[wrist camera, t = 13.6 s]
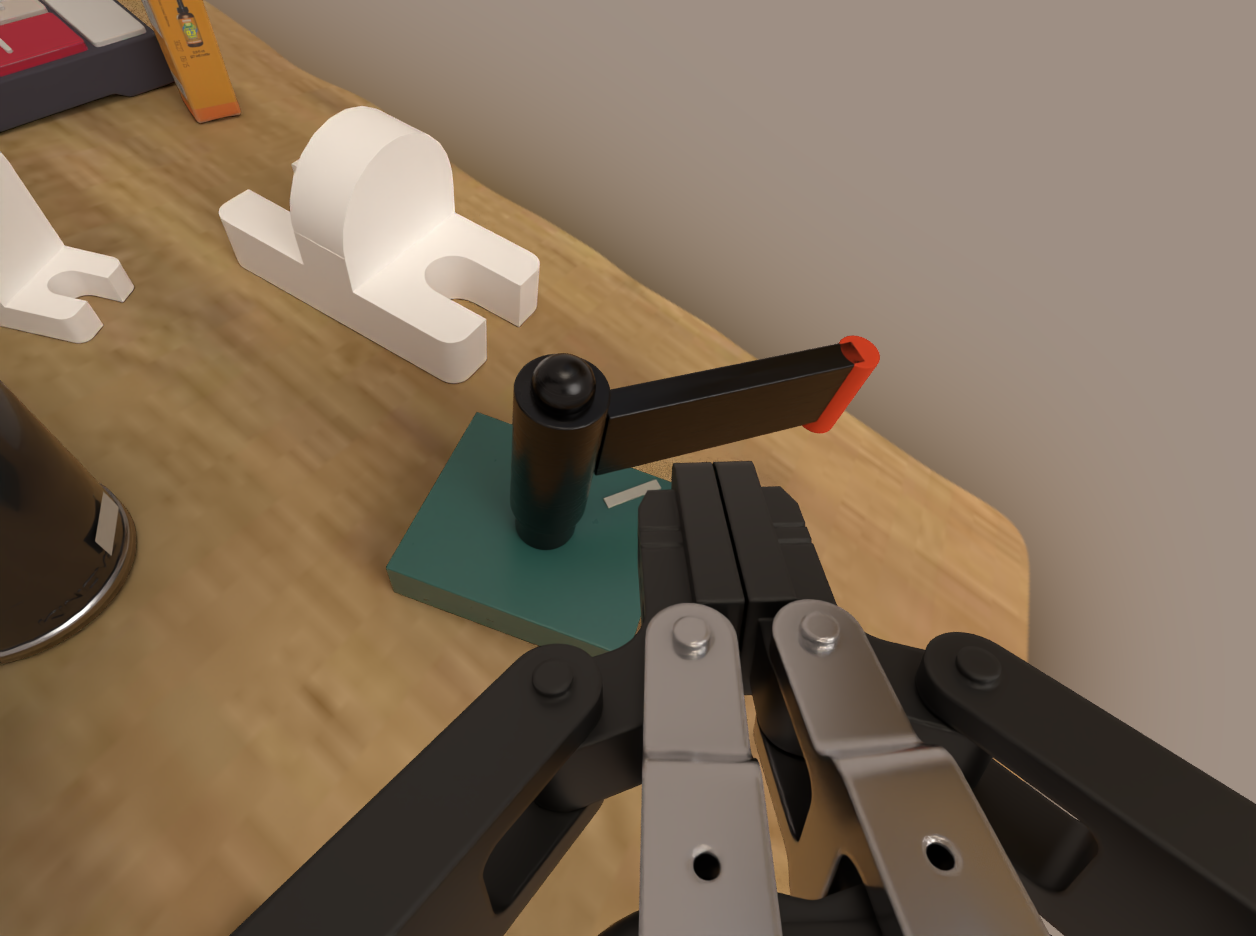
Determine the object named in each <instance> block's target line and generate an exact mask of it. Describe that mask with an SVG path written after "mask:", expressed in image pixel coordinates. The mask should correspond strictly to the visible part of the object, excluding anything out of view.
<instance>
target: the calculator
mask: <svg viewBox="0 0 1256 936" xmlns="http://www.w3.org/2000/svg"><path fill="white" fill-rule="evenodd" d="M173 82H175V80H174V78H173V75H172V73H171V71H170V68H169V66H168V64H167V61H166V59H165V56H164V54H163V52H162V49H161V47H160V44H159V42H158V40H157V37H156V35H155V32H154V31H153V30H152V29H151V28H150V27H148V26H147V25H146V24H145V23H144V22H142V21H141V20H140V19H139V18H137V17H136V16H135V15H134V14H133V13H131V12H130V11H129V10H128V9H127V8H125V7H124V6H123V5H122V4H121V3H119V2H118V1H117V0H0V132H2V131H5V130H8V129H11V128H14V127H17V126H20V125H23V124H26V123H29V122H32V121H35V120H37V119H40V118H43V117H46V116H49V115H52V114H55V113H58V112H61V111H64V110H67V109H70V108H73V107H76V106H79V105H82V104H85V103H88V102H90V101H93V100H96V99H99V98H102V97H105V96H108V95H111V94H119V95H124V96H129V97H132V96H135V95H138V94H141V93H144V92H147V91H150V90H153V89H156V88H159V87H162V86H164V85H167V84H170V83H173Z"/></svg>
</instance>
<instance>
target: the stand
mask: <svg viewBox="0 0 1256 936" xmlns="http://www.w3.org/2000/svg"><path fill="white" fill-rule="evenodd" d="M511 452H512V424H509V423H506V422H503V421H501V420H498V419H495V418H492V417H490V416H487V415H484V414H481V413H479V412H476V414H475V416H474V417H473V419H472V421H471V422H470V424H469V426H468V427H467V429H466V431H465V433H464V434H463V436H462V438H461V439H460V441H459V443H458V445H457V446H456V448H455V450H454V451H453V453H452V455H451V457H450V458H449V460H448V462H447V463H446V465H445V467H444V469H443V470H442V472H441V474H440V475H439V477H438V479H437V481H436V482H435V484H434V486H433V487H432V489H431V491H430V493H429V494H428V496H427V498H426V499H425V501H424V503H423V504H422V506H421V508H420V510H419V511H418V513H417V515H416V516H415V518H414V520H413V522H412V523H411V525H410V527H409V528H408V530H407V532H406V534H405V535H404V537H403V539H402V540H401V542H400V544H399V546H398V547H397V549H396V551H395V552H394V554H393V556H392V558H391V559H390V561H389V563H388V564H387V566H386V570H387V573H388V576H389V579H390V582H391V585H392V588H393V591H394V592H396V593H399V594H401V595H404V596H407V597H409V598H412V599H415V600H417V601H420V602H423V603H425V604H428V605H431V606H434V607H436V608H439V609H442V610H444V611H447V612H450V613H452V614H455V615H458V616H460V617H463V618H466V619H468V620H471V621H474V622H476V623H479V624H482V625H485V626H487V627H490V628H493V629H495V630H498V631H501V632H503V633H506V634H509V635H511V636H514V637H517V638H519V639H522V640H525V641H528V642H530V643H533V644H536V645H538V646H543V645H547V644H568V645H572V646H575V647H578V648H580V649H582V650H584V651H585V652H587V653H588V654H590V655H591V656H592V657H594V656H597V655H600V654H603V653H606V652H609V651H612V650H614V649H617V648H619V647H621V646H622V645H624V644H626V643H627V642H628V641H630V640H631V639H632V638H633V637H634V636H635V633H636V630H637V626H638V623H639V620H640V617H641V608H640V593H639V579H638V507H639V505H640V503H641V501H642V499H643V497H644V496H645V494H646V492H647V490H669V489H671V483H672V482H669V481H667V480H664V479H661V478H658V477H656V476H653V475H650V474H647V473H644V472H642V471H639V470H636V469H633V468H627V469H623V470H619V471H615V472H611V473H606V474H602V475H598V476H596V475H595V474H593V478H592V483H591V487H590V491H589V496H588V500H587V504H586V509H585V512H584V514H583V516H582V518H581V519H580V521H579V522H578V523H577V524H576V525H575V526H574V527H572V528H571V529H569V530H567V531H565V532H562V533H558V534H540V533H536V532H533V531H531V530H529V529H527V528H526V527H524V526H523V525H522V524H521V523H520V522H518V520H517V519H516V518H515V516H514V514H513V512H512V510H511V506H510V482H511Z"/></svg>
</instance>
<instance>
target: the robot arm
mask: <svg viewBox="0 0 1256 936" xmlns="http://www.w3.org/2000/svg"><path fill="white" fill-rule="evenodd" d="M136 543H137V538H136V530H135V526H134V522H133V520H132V517H131V515H130V514H129V512H128V510H127V509H126V508H125V506H124V505H123V504H122V503H121V502H120V501H119V500H118V499H117V497H116V496H115V495H114V494H113V493H112V492H111V491H109V490H108V489H107V488H106V487H105V486H103V485H102V484H100V483H99V482H98V481H97V480H96V479H95V478H94V477H93V476H92V475H91V474H90V473H89V472H88V471H87V470H86V469H85V468H84V467H83V465H82V464H81V463H80V462H79V461H78V460H77V459H76V458H75V457H74V456H73V455H72V454H71V453H70V452H69V451H68V450H67V449H66V448H65V447H64V446H63V445H62V444H61V443H60V441H59V440H58V439H57V438H56V437H55V436H54V435H53V434H52V433H51V432H50V431H49V430H48V429H47V428H46V427H45V426H44V425H43V424H42V423H41V422H40V421H39V420H38V419H37V418H36V417H35V416H34V415H33V414H32V413H31V412H30V410H29V409H28V408H27V407H26V406H25V405H24V404H23V403H22V402H21V401H20V400H19V399H18V398H17V397H16V396H15V395H14V394H13V393H12V392H11V391H10V390H9V389H8V388H7V387H6V386H5V385H4V384H3V383H2V382H1V380H0V664H4V663H9V662H13V661H17V660H20V659H23V658H27V657H29V656H32V655H35V654H37V653H40V652H42V651H44V650H46V649H49V648H51V647H53V646H55V645H57V644H58V643H60V642H62V641H64V640H66V639H67V638H69V637H70V636H72V635H74V634H75V633H77V632H78V631H79V630H81V629H82V628H83V627H85V626H86V625H87V624H89V623H90V622H91V621H92V620H93V619H95V618H96V617H97V616H98V615H99V614H100V613H101V612H102V611H103V610H104V609H105V608H106V607H107V606H108V604H109V603H110V602H111V601H112V600H113V599H114V597H115V596H116V595H117V593H118V592H119V590H120V589H121V587H122V586H123V584H124V583H125V581H126V579H127V577H128V575H129V573H130V570H131V568H132V565H133V561H134V558H135V553H136ZM638 579H639V593H640V608H641V623H642V626H641V628H640V630H639V631H638V633H637V634H636V635H635V636H634V637H633V638H632V639H631V640H630V641H628V642H627V643H626V644H624V645H622V646H621V647H619V648H617V649H614V650H612V651H609V652H606V653H603V654H600V655H597V656H594V657H592V656H591V655H590V654H588V653H587V652H585V651H584V650H582V649H580V648H578V647H575V646H572V645H568V644H547V645H543V646H539V647H537V648H534V649H532V650H530V651H528V652H527V653H525V654H523V655H522V656H521V657H520V658H518V659H517V660H516V661H515V662H514V663H513V664H512V665H511V666H510V667H509V668H508V669H507V670H506V671H505V672H504V673H503V674H502V675H501V676H500V677H499V678H498V679H496V680H495V681H494V682H493V683H492V684H491V685H490V686H489V687H488V688H487V689H486V690H485V691H484V692H483V693H482V694H481V695H480V696H479V697H478V698H477V699H476V700H475V701H474V702H472V703H471V704H470V705H469V706H468V707H467V708H466V709H465V710H464V711H463V712H462V713H461V714H460V715H459V716H458V717H457V718H456V719H455V720H454V721H453V722H452V723H451V724H450V725H448V726H447V727H446V728H445V729H444V730H443V731H442V732H441V733H440V734H439V735H438V736H437V737H436V738H435V739H434V740H433V741H432V742H431V743H430V744H429V745H428V746H427V747H426V748H424V749H423V750H422V751H421V752H420V753H419V754H418V755H417V756H416V757H415V758H414V759H413V760H412V761H411V762H410V763H409V764H408V765H407V766H406V767H405V768H404V769H403V770H402V771H400V772H399V773H398V774H397V775H396V776H395V777H394V778H393V779H392V780H391V781H390V782H389V783H388V784H387V785H386V786H385V787H384V788H383V789H382V790H381V791H380V792H379V793H378V794H377V795H375V796H374V797H373V798H372V799H371V800H370V801H369V802H368V803H367V804H366V805H365V806H364V807H363V808H362V809H361V810H360V811H359V812H358V813H357V814H356V815H355V816H354V817H353V818H351V819H350V820H349V821H348V822H347V823H346V824H345V825H344V826H343V827H342V828H341V829H340V830H339V831H338V832H337V833H336V834H335V835H334V836H333V837H332V838H331V839H330V840H329V841H327V842H326V843H325V844H324V845H323V846H322V847H321V848H320V849H319V850H318V851H317V852H316V853H315V854H314V855H313V856H312V857H311V858H310V859H309V860H308V861H307V862H306V863H305V864H303V865H302V866H301V867H300V868H299V869H298V870H297V871H296V872H295V873H294V874H293V875H292V876H291V877H290V878H289V879H288V880H287V881H286V882H285V883H284V884H283V885H282V886H281V887H280V888H278V889H277V890H276V891H275V892H274V893H273V894H272V895H271V896H270V897H269V898H268V899H267V900H266V901H265V902H264V903H263V904H262V905H261V906H260V907H259V908H258V909H257V910H256V911H254V912H253V913H252V914H251V915H250V916H249V917H248V918H247V919H246V920H245V921H244V922H243V923H242V924H241V925H240V926H239V927H238V928H237V929H236V930H235V931H234V932H233V933H232V934H230V935H229V936H503V935H504V934H505V933H506V931H507V930H508V929H509V927H510V926H511V925H512V923H513V922H514V921H515V919H516V918H517V917H518V915H519V914H520V913H521V912H522V910H523V909H524V908H525V906H526V905H527V904H528V902H529V901H530V900H531V898H532V897H533V896H534V894H535V893H536V892H537V890H538V889H539V888H540V886H541V885H542V884H543V882H544V881H545V880H546V878H547V877H548V876H549V875H550V873H551V872H552V871H553V869H554V868H555V867H556V865H557V864H558V863H559V861H560V860H561V859H562V857H563V856H564V855H565V853H566V852H567V851H568V849H569V848H570V847H571V845H572V844H573V843H574V841H575V840H576V839H577V837H578V836H579V835H580V834H581V832H582V831H583V830H584V828H585V827H586V826H587V824H588V823H589V822H590V820H591V819H592V818H593V816H594V815H595V814H596V812H597V811H598V810H599V808H600V806H601V805H602V803H603V801H604V799H606V798H608V797H611V796H613V795H616V794H618V793H621V792H623V791H626V790H628V789H631V788H633V787H636V786H638V785H641V784H642V807H641V852H640V897H639V911H636V912H634V913H632V914H630V915H628V916H626V917H624V918H622V919H621V920H619V921H617V922H615V923H614V924H612V925H611V926H610V927H608V928H607V929H606V930H604V931H603V932H602V933H600V934H599V935H598V936H1052V935H1050V934H1049V932H1048V931H1047V929H1046V927H1045V925H1044V923H1043V921H1042V919H1041V917H1040V916H1039V915H1041V916H1042V917H1043V918H1044V919H1045V920H1046V921H1047V922H1049V923H1050V924H1051V925H1052V926H1053V927H1055V928H1056V929H1057V930H1058V931H1060V932H1061V933H1062V934H1063V935H1064V936H1256V804H1255V803H1253V802H1252V801H1250V800H1248V799H1247V798H1245V797H1244V796H1242V795H1240V794H1239V793H1237V792H1235V791H1234V790H1232V789H1231V788H1229V787H1227V786H1226V785H1224V784H1223V783H1221V782H1219V781H1218V780H1216V779H1214V778H1213V777H1211V776H1210V775H1208V774H1206V773H1205V772H1203V771H1201V770H1200V769H1198V768H1197V767H1195V766H1193V765H1192V764H1190V763H1188V762H1187V761H1185V760H1184V759H1182V758H1180V757H1179V756H1177V755H1175V754H1174V753H1172V752H1171V751H1169V750H1168V749H1166V748H1164V747H1163V746H1161V745H1159V744H1158V743H1156V742H1155V741H1153V740H1151V739H1150V738H1148V737H1146V736H1145V735H1143V734H1142V733H1140V732H1138V731H1137V730H1135V729H1134V728H1132V727H1130V726H1129V725H1127V724H1126V723H1124V722H1122V721H1121V720H1119V719H1117V718H1116V717H1114V716H1113V715H1111V714H1109V713H1108V712H1106V711H1104V710H1103V709H1101V708H1100V707H1098V706H1096V705H1095V704H1093V703H1092V702H1090V701H1088V700H1087V699H1085V698H1083V697H1082V696H1080V695H1079V694H1077V693H1075V692H1074V691H1072V690H1071V689H1069V688H1067V687H1066V686H1064V685H1062V684H1061V683H1059V682H1058V681H1056V680H1054V679H1053V678H1051V677H1050V676H1048V675H1046V674H1045V673H1043V672H1041V671H1040V670H1038V669H1037V668H1035V667H1033V666H1032V665H1030V664H1029V663H1027V662H1025V661H1024V660H1022V659H1020V658H1019V657H1017V656H1016V655H1014V654H1012V653H1011V652H1009V651H1008V650H1006V649H1004V648H1003V647H1001V646H999V645H998V644H996V643H994V642H992V641H990V640H988V639H986V638H983V637H981V636H978V635H974V634H970V633H964V632H950V633H945V634H941V635H939V636H937V637H935V638H934V639H932V640H931V641H930V642H929V644H928V645H927V647H926V650H923V649H919V648H915V647H910V646H906V645H902V644H897V643H893V642H889V641H885V640H882V639H879V638H876V637H874V636H871V635H869V634H867V633H865V632H864V631H863V629H862V627H861V626H860V624H859V623H858V622H857V620H856V619H855V618H854V617H853V616H852V615H851V614H849V613H848V612H847V611H845V610H844V609H842V608H840V607H838V606H837V604H836V602H835V599H834V597H833V594H832V591H831V589H830V586H829V584H828V581H827V578H826V576H825V573H824V571H823V568H822V565H821V563H820V560H819V558H818V555H817V552H816V550H815V547H814V545H813V543H812V542H811V537H810V534H809V532H808V529H807V527H805V521H804V518H803V516H802V513H801V511H800V508H799V505H798V503H797V502H796V501H795V500H794V499H793V498H792V497H791V496H790V495H789V494H788V493H786V492H785V491H784V490H783V489H782V488H781V487H780V486H775V487H761V486H760V483H759V479H758V476H757V473H756V470H755V467H754V464H753V462H752V461H732V462H713V464H712V463H711V462H699V463H673V466H672V483H671V489H669V490H647V492H646V494H645V496H644V497H643V499H642V501H641V503H640V505H639V507H638ZM744 695H752V696H753V700H754V705H755V709H756V718H755V724H754V740H755V744H756V747H757V751H758V754H759V758H760V761H761V765H762V768H763V772H764V775H765V779H766V782H767V785H768V789H769V792H770V796H771V799H772V803H773V806H774V810H775V813H776V817H777V820H778V824H779V827H780V830H781V834H782V837H783V841H784V844H785V848H786V853H787V859H788V868H789V887H790V894H791V896H790V895H786V894H782V893H778V892H777V888H776V880H775V872H774V865H773V857H772V849H771V841H770V834H769V826H768V818H767V810H766V803H765V795H764V787H763V780H762V774H761V769H760V765H759V762H758V760H757V759H756V758H753V757H752V754H751V749H750V741H749V733H748V724H747V716H746V708H745V699H744ZM992 758H995V759H996V760H997V761H999V762H1000V763H1002V764H1003V765H1004V766H1006V767H1007V768H1008V769H1010V770H1011V771H1013V772H1014V773H1015V774H1017V775H1018V776H1019V777H1021V778H1022V779H1024V780H1025V781H1026V782H1028V783H1029V784H1030V785H1032V786H1033V787H1035V788H1036V789H1038V790H1039V791H1040V792H1041V793H1043V794H1044V795H1045V796H1047V797H1048V798H1050V799H1051V800H1053V801H1054V802H1055V803H1057V804H1058V805H1059V806H1061V807H1062V808H1063V809H1065V810H1066V811H1068V812H1069V813H1070V814H1072V815H1073V816H1074V817H1076V818H1077V819H1078V820H1077V819H1075V818H1073V817H1072V816H1070V815H1069V814H1068V813H1066V812H1065V811H1063V810H1062V809H1061V808H1059V807H1058V806H1057V805H1055V804H1054V803H1052V802H1051V801H1050V800H1048V799H1047V798H1045V797H1044V796H1043V795H1042V794H1040V793H1039V792H1037V791H1036V790H1034V789H1033V788H1032V787H1031V786H1029V785H1028V784H1026V783H1025V782H1024V781H1022V780H1021V779H1020V778H1018V777H1017V776H1015V775H1014V774H1013V773H1011V772H1010V771H1009V770H1007V769H1006V768H1005V767H1003V766H1002V765H1000V764H999V763H998V762H996V761H995V760H994V759H992ZM1079 820H1080V821H1079Z"/></svg>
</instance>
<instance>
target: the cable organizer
mask: <svg viewBox="0 0 1256 936" xmlns="http://www.w3.org/2000/svg"><path fill="white" fill-rule="evenodd" d="M133 289H134V285H133V284H132V282H131V280H130V279H129V277H128V275H127V274H126V272H125V270H124V269H123V267H122V265H121V263H120V262H119V260H118V259H117V258H114V257H111V256H106V255H102V254H98V253H93V252H89V251H85V250H81V249H76V248H72V247H68V246H65V245H64V244H63V242H62V241H61V239H60V238H59V236H58V235H57V233H56V232H55V230H54V229H53V227H52V226H51V224H50V223H49V221H48V220H47V218H46V217H45V215H44V214H43V212H42V211H41V209H40V208H39V206H38V205H37V203H36V202H35V200H34V199H33V197H32V196H31V194H30V193H29V191H28V190H27V188H26V187H25V185H24V184H23V182H22V181H21V179H20V178H19V176H18V175H17V173H16V172H15V170H14V169H13V167H12V166H11V164H10V163H9V161H8V160H7V159H6V158H5V156H4V155H3V154H2V153H1V152H0V326H4V327H8V328H12V329H17V330H21V331H26V332H30V333H35V334H39V335H43V336H48V337H52V338H57V339H61V340H66V341H70V342H74V343H83V342H87V341H89V340H91V339H92V338H93V337H94V336H95V335H96V333H97V332H98V331H99V330H100V329H101V328H102V326H103V324H102V322H101V321H100V319H99V318H98V316H97V315H96V313H95V312H94V310H93V309H92V308H91V306H90V305H89V303H88V302H87V301H84V300H79V299H75V298H77V297H79V296H84V295H94V296H99V297H103V298H107V299H112V300H116V301H120V302H124V300H125V299H126V298H127V297H128V296H129V294H130V293H131V292H132V291H133Z"/></svg>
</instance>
